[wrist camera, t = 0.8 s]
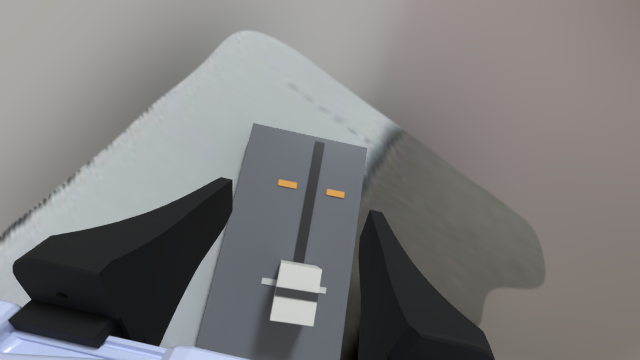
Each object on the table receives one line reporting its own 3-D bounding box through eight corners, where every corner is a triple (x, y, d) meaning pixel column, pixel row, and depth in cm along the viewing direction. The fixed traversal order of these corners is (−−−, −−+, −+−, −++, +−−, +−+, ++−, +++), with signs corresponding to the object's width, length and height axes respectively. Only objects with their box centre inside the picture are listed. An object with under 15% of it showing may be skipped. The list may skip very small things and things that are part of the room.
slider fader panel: (333, 365, 24) (337, 376, 22) (200, 348, 23) (192, 358, 21) (361, 154, 29) (367, 147, 27) (255, 131, 28) (253, 122, 26)
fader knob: (308, 313, 22) (313, 326, 19) (271, 308, 22) (269, 320, 19) (316, 265, 24) (322, 269, 20) (281, 259, 23) (281, 262, 20)
